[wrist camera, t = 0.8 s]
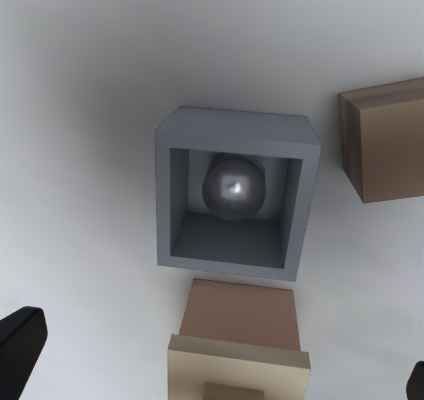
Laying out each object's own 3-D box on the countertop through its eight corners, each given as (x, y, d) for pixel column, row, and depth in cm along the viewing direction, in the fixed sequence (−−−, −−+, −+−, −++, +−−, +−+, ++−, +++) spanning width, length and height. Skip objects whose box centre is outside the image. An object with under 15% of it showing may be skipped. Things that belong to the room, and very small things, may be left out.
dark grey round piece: (261, 202, 19) (261, 224, 17) (207, 196, 20) (200, 218, 17) (268, 149, 18) (269, 166, 16) (210, 144, 18) (203, 160, 16)
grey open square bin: (287, 226, 20) (295, 281, 16) (179, 215, 21) (157, 265, 17) (306, 116, 18) (321, 145, 13) (180, 106, 18) (154, 131, 14)
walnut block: (426, 158, 18) (468, 190, 14) (343, 169, 19) (363, 203, 15) (429, 76, 16) (477, 89, 13) (339, 93, 17) (360, 109, 13)
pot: (279, 360, 25) (283, 431, 21) (191, 348, 26) (176, 415, 21) (293, 290, 22) (301, 355, 18) (193, 278, 23) (177, 338, 18)
